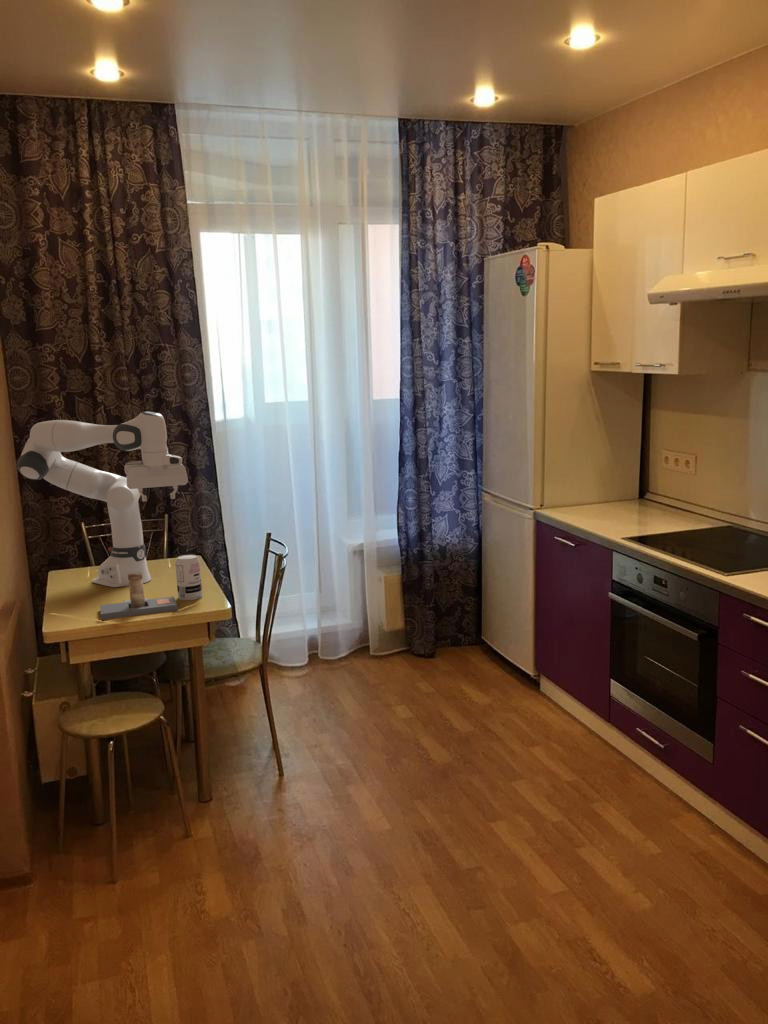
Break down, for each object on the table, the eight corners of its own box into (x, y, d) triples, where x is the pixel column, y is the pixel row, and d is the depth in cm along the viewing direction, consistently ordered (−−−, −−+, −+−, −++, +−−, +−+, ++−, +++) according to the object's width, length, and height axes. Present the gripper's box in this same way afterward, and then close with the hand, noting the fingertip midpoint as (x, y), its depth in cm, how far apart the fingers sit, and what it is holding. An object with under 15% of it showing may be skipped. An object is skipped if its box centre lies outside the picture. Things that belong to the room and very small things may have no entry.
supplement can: (182, 595, 298) (179, 554, 296) (205, 595, 298) (202, 554, 295) (174, 602, 291) (171, 559, 288) (198, 602, 290) (195, 559, 287)
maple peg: (128, 613, 279) (124, 575, 277) (138, 609, 283) (134, 571, 281) (139, 614, 277) (135, 575, 275) (148, 610, 281) (144, 572, 279)
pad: (125, 608, 285) (125, 606, 285) (124, 602, 293) (124, 600, 293) (149, 605, 288) (149, 603, 288) (148, 599, 295) (147, 597, 295)
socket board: (101, 621, 271) (100, 613, 271) (100, 612, 281) (99, 604, 281) (177, 611, 279) (177, 604, 278) (174, 603, 289) (173, 595, 289)
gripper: (124, 462, 280) (127, 503, 283) (186, 458, 287) (189, 498, 289) (123, 461, 286) (126, 501, 289) (184, 456, 293) (187, 496, 295)
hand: (158, 499), depth 289 cm, fingers open, 8 cm apart
